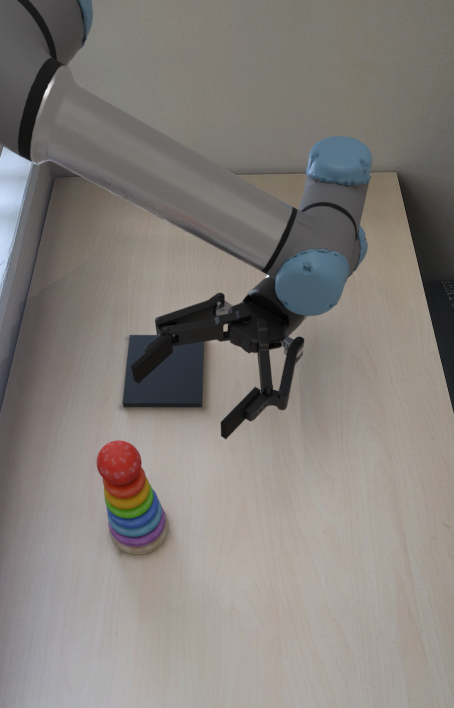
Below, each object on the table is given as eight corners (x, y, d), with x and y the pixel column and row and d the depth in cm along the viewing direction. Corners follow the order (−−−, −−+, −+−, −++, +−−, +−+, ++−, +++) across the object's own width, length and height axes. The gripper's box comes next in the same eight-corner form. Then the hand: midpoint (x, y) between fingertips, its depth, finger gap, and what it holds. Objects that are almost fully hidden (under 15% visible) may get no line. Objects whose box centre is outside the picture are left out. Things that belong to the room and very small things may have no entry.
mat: (123, 407, 97) (122, 403, 96) (130, 339, 104) (129, 334, 103) (202, 407, 97) (201, 403, 96) (204, 339, 104) (203, 334, 103)
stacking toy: (165, 500, 89) (151, 418, 73) (172, 551, 85) (159, 476, 69) (108, 509, 88) (81, 427, 72) (113, 560, 84) (85, 487, 68)
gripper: (359, 365, 83) (261, 474, 74) (209, 283, 90) (106, 373, 82) (370, 321, 76) (264, 436, 68) (208, 237, 84) (95, 330, 76)
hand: (177, 402), depth 75 cm, fingers open, 13 cm apart
